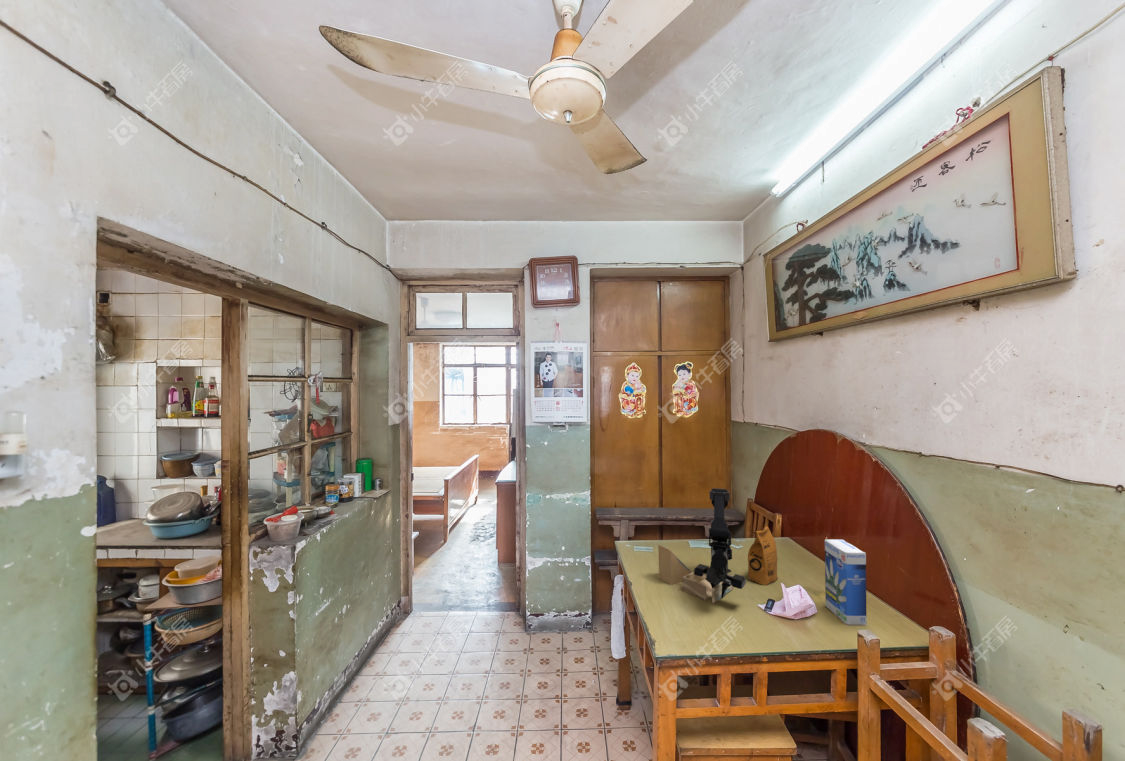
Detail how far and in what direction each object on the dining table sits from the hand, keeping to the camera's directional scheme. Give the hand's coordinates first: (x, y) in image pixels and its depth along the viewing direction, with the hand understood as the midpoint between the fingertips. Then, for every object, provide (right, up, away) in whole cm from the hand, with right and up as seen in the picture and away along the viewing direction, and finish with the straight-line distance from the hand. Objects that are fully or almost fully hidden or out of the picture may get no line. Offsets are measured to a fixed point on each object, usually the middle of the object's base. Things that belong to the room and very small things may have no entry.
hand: (719, 597), depth 168 cm
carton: (-1, -2, +10) cm, 10 cm away
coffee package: (+26, -2, +19) cm, 32 cm away
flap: (+3, -1, +4) cm, 5 cm away
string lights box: (+43, -1, -11) cm, 44 cm away
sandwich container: (-10, -3, +21) cm, 24 cm away
